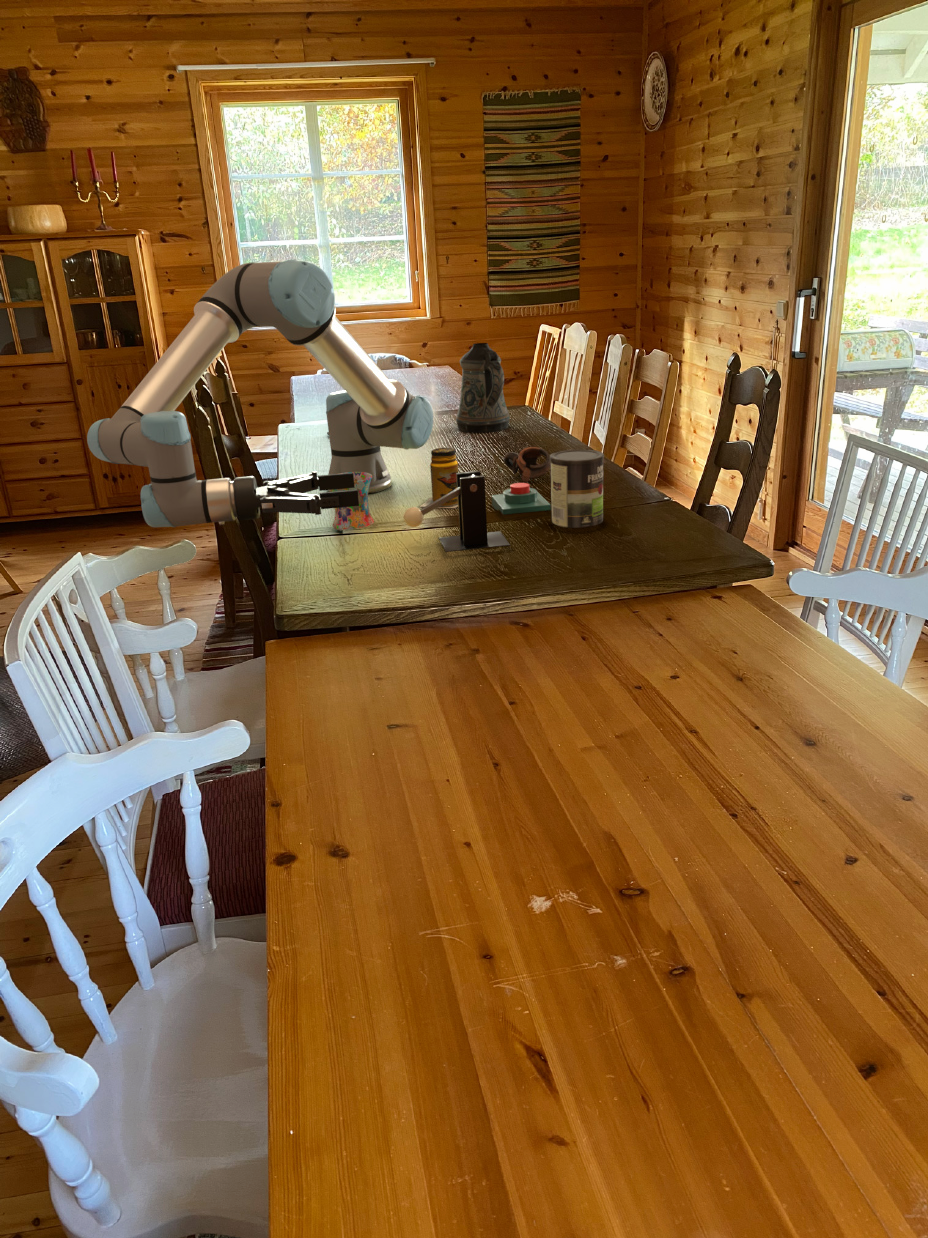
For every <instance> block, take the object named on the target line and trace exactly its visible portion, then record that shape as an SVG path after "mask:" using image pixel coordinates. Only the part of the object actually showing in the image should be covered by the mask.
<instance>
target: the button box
mask: <svg viewBox="0 0 928 1238" xmlns="http://www.w3.org/2000/svg"><path fill="white" fill-rule="evenodd" d="M491 505H492V506H493V508H494V509H495V511H500V512H501V514H502V515H504V516H505V515H514V514H523V513H532V512H533V513H534V512H535V513H536V512H544V511H552V509H551V503H549V501H547V500H546V498H544V496H542V495H541V494H540V493H539V492H538V490H537V489H536V488H533V487H530V493H526V494H511V490H510V488H507V489H505V490H504V491H503V492H502V493H499V494H492V495H491Z"/></svg>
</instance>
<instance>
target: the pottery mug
mask: <svg viewBox="0 0 928 1238" xmlns="http://www.w3.org/2000/svg"><path fill="white" fill-rule="evenodd" d="M542 456H544V457H545V461H544V462H543V463H541V464H539V463H538V462H537V461H538V458H540V457H542ZM503 462H504V463H505V466H506V467H507V468H508V469H510V470H511V472H512V473H513V475H517V474H519V476H521V480H522V481H523V482H524V483H528V482H529V481H530V480H531V479H534V478H538V477H541V476H543V475H546V473H548V472H549V471H550V470H551V460H550V454H549V453H548V451H547V450H545V449H544V448H542V447H538V446H528V447H525V448H523V449H522V450H520V452H519V453H517V452H514V451H509V452H506V453H505V455H504V457H503Z"/></svg>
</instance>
